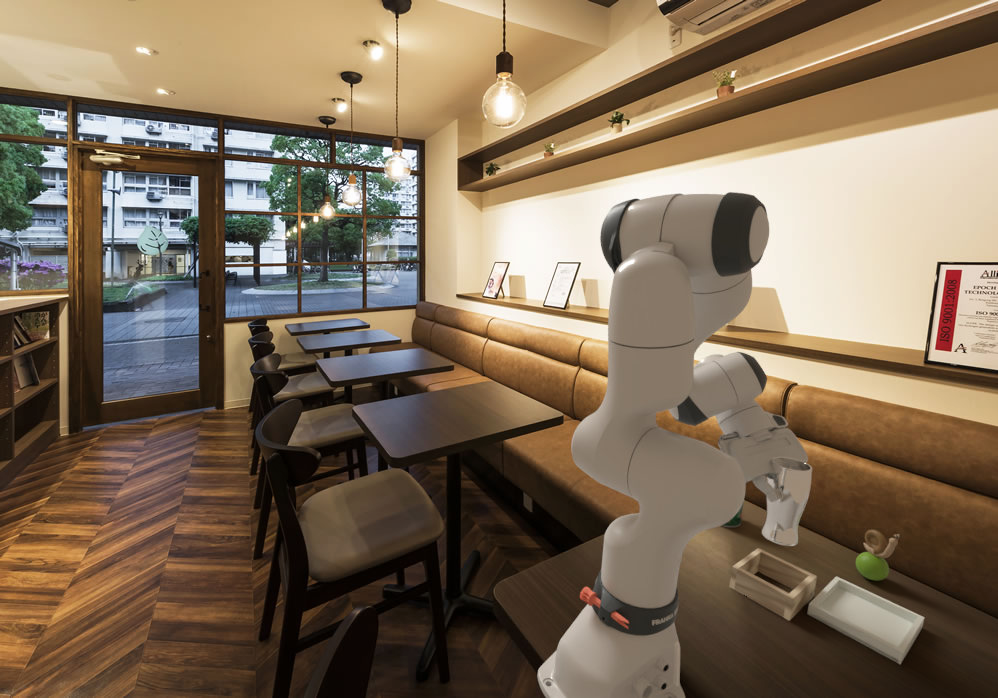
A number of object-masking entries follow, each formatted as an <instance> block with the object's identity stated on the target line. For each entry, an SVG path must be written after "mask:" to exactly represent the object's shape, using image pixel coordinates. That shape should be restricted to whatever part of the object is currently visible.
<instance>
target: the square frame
mask: <svg viewBox="0 0 998 698" xmlns="http://www.w3.org/2000/svg"><path fill="white" fill-rule="evenodd" d="M757 573H760V574H762V575H764V576H765V577H768V578H770V579H772V580H774V581H775V582H778V583H779V584H782V585H783V586H786V587H787V588H789V589H791V591H790V592H787V591H785V590H784V589H782V588H780V587H778V586H776V585H775V584H772V583H770V582H769V581H766V580H764V579H762V578H761V577H759V576H757V575H755V574H757ZM817 579H818V576H817V575H816V574H813V573H812V572H810V571H807V570H806V569H803V568H801V567H799V566H796V565H794V564H793V563H791V562H789V561H786V560H785V559H783V558H780V557H778V556H776V555H774V554H772V553H769V552H767V551H766V550H764V549H761V548H759V547H758V548H756V549H754V550H753V551H751V552H750V553H749V554H748V555H746V556H745V557H744V558H742V559H740V560H739V561H738V562H736V563H735V564H733V565H732V566H731V572H730V579H729V588H730V589H732V590H734V591H736V592H737V593H738V594H741V595H742V596H744V595H745V596H744V597H746V596H747V597H746V598H748V599H749V600H751V601H753V602H755V603H757V604H759V605H760V606H762V607H764V608H766V609H768V610H769V611H771V612H773V613H775V614H776V615H778V616H780V617H782V618H783V619H785V620H787V621H789V622H790V621H791V620H792V619H793V618H794V617H795V616H796V615H797V614H798V613H799V612H800V611H801V610H802V609H803V608H804V607H805V606H806V605H807V604H809V603H810V602H811V601H812V600H813V599H814V596H815V592H816V586H817V585H816V584H817Z"/></svg>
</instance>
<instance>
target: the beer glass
mask: <svg viewBox="0 0 998 698" xmlns="http://www.w3.org/2000/svg"><path fill="white" fill-rule="evenodd" d="M775 458H780V459H783V460H784V461H786V462H787V463H788V464H789V465H790V467H789V468H785V467H783V466H780V465H778V464H776V463H775V462H774V461H773V460H774V459H775ZM775 458H772V459H771V465H772V473H769V474H768V476H766V477H767V479H768V481H767V482H768V483H769V484H770V485H771V486H772V487H773V488H774V490H775V489H777V490H778V491H779V493H780V494H781V496H782V498H781V499H779V500H777V501H774V502H770V501H769V499H768V498H767V496H766V495H765V496H766V497H765V499H766V517H765V520H764V524H763V526H762V528H761V535H762V536H763V537H764V538H765V539H766V540H768V541H770V542H772V543H774V544H777V545H780V546H784V547H794V546H797V545H798V543H799V534H798V531H799V529H798V528H799V523H800V520H801V517H802V515H803V512H804V511H805V508H806V505H807V503H808V500H809V496H810V492H811V485H812V476H813V475H812V473H813V466H812V465H810V464H809V463H808V462H806V463H805V462H803V461H800V460H797V459H794V458H789V457H775Z"/></svg>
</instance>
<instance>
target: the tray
mask: <svg viewBox="0 0 998 698" xmlns="http://www.w3.org/2000/svg"><path fill="white" fill-rule="evenodd" d="M806 615H808V616H810V617H812V618H813V619H816V620H817V621H819V622H821V623H823V624H825V625H827V626H829V627H830V628H832V629H834V630H836V631H837V632H839V633H841V634H843V635H845V636H847V637H849V638H851V639H853V640H855V641H856V642H858V643H860V644H862V645H864V646H865V647H868V648H869V649H871V650H872V651H875V652H876V653H878V654H879V655H881V656H884V657H885V658H887V659H889V660H891V661H893V662H895V663H897V664H899V665H902V664H903V661H905V660H904V659H905V658H906V657H907V655H908V653H909V651H910V649H911V648H912V646H913V645H914V643H915V641H916V640H917V638H918V636H919V634H920V632H921V631H922V630H923V626H924V622H925V616H922V615H920V614H918V613H916V612H914V611H912V610H909V609H908V608H905V607H903V606H901V605H899V604H897V603H894V602H892V601H891V600H889V599H886V598H884V597H882V596H880V595H877V594H875V593H873V592H871V591H869V590H867V589H865V588H863V587H860V586H858V585H856V584H854V583H852V582H849V581H847V580H845V579H843V578H840V577H839V576H835V577H834V578H833V579H832V580H830V581H829V582H828V584H827V585H826V586H825V587H824V588H822V590H821V591H820V592H819V593H818V594H817V595H816V596H815V597H813V598H812V599H811V600H810V601H809V602H808V607H807V614H806Z"/></svg>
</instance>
